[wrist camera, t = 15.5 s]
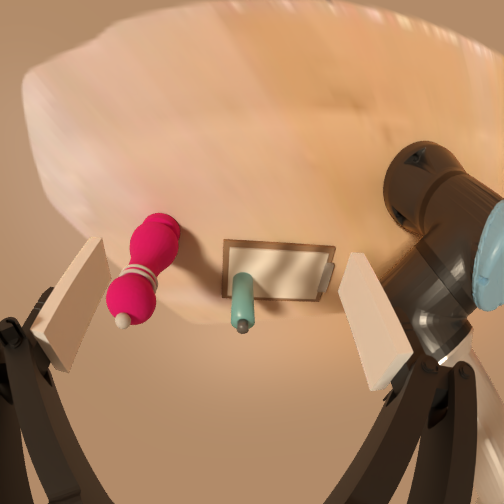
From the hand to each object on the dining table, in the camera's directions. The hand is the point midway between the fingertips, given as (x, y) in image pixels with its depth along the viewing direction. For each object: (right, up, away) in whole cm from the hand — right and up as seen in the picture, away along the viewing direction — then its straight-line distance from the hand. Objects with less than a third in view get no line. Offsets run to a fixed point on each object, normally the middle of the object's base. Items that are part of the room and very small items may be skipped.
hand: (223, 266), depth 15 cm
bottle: (0, -4, +34) cm, 34 cm away
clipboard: (+5, -3, +34) cm, 35 cm away
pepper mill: (-13, +4, +29) cm, 32 cm away
